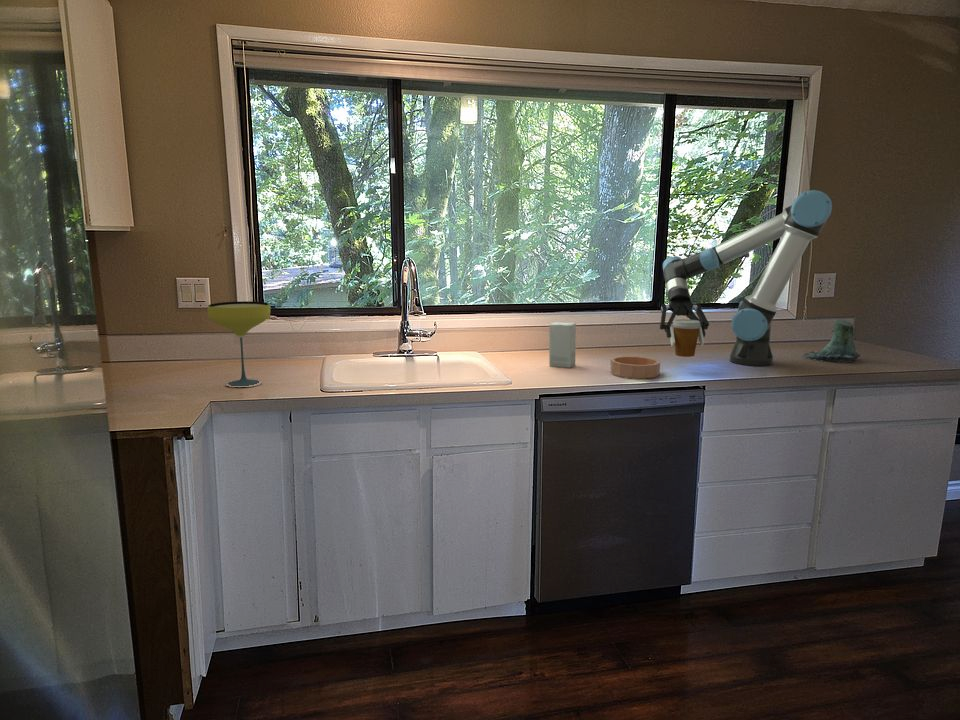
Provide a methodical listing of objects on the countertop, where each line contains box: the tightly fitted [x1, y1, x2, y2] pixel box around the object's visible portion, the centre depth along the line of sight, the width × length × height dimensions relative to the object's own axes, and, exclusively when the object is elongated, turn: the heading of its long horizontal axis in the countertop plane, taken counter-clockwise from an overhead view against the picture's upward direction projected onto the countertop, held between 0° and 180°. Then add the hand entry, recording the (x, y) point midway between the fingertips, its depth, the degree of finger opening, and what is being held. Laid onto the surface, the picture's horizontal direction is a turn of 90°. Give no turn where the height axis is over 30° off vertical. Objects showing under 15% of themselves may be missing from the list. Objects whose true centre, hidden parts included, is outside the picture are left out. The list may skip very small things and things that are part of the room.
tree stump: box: [803, 319, 862, 363], centre depth 258 cm, size 18×20×18 cm
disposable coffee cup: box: [671, 318, 701, 358], centre depth 231 cm, size 10×10×12 cm
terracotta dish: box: [609, 355, 661, 380], centre depth 229 cm, size 16×16×4 cm
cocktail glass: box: [207, 300, 271, 386], centre depth 206 cm, size 18×18×25 cm
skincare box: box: [548, 321, 577, 369], centre depth 240 cm, size 8×7×16 cm
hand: (687, 344), depth 228 cm, fingers closed on disposable coffee cup, 9 cm apart
